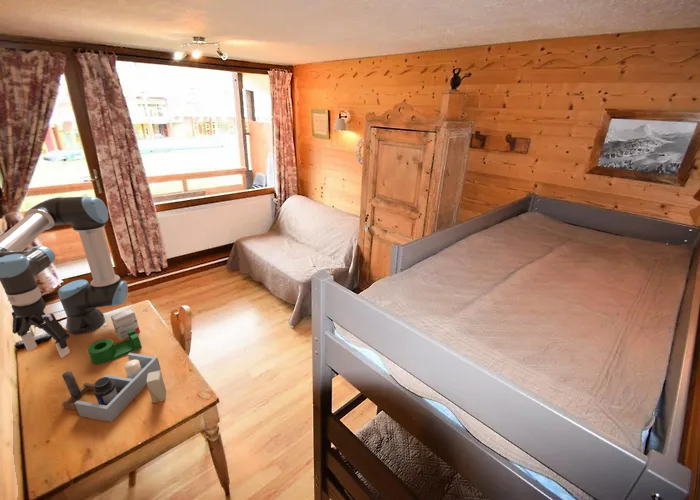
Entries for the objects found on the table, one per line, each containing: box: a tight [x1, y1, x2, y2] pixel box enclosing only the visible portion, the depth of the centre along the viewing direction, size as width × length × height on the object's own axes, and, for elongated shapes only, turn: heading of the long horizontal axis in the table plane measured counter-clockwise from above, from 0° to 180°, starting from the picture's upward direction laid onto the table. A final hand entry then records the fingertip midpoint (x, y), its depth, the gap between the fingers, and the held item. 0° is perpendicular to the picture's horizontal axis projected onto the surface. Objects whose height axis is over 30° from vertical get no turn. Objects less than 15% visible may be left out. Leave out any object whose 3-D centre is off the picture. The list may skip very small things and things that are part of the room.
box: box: [146, 369, 167, 404], centre depth 123 cm, size 5×4×11 cm
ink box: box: [110, 308, 141, 341], centre depth 155 cm, size 9×5×12 cm, turn 141°
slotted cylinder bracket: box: [87, 329, 142, 365], centre depth 145 cm, size 18×9×6 cm, turn 135°
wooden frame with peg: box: [61, 370, 122, 411], centre depth 120 cm, size 10×20×12 cm, turn 81°
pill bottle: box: [93, 376, 118, 406], centre depth 120 cm, size 6×6×11 cm
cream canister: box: [124, 360, 143, 379], centre depth 131 cm, size 5×5×8 cm
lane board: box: [73, 352, 161, 423], centre depth 126 cm, size 26×13×6 cm, turn 171°
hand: (48, 351), depth 114 cm, fingers open, 13 cm apart
